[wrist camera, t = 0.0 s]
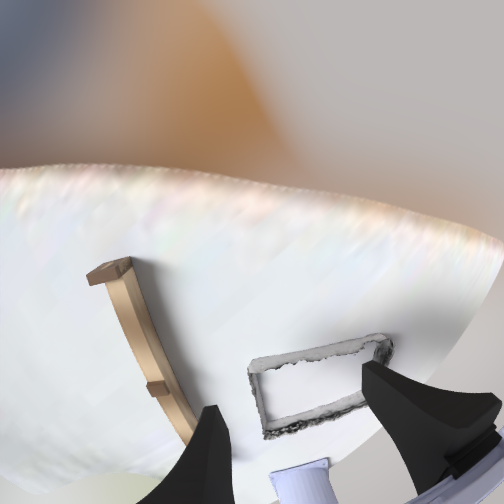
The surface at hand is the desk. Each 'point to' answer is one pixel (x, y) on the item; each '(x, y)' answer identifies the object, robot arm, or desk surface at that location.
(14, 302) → the desk surface
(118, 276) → the ledge
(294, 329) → the desk surface
